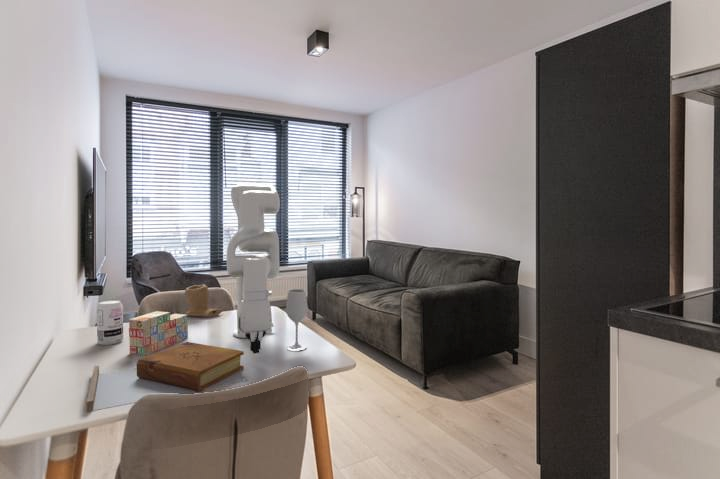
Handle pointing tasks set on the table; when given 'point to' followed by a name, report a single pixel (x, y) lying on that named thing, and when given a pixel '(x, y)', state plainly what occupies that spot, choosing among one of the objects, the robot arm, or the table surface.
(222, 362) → the diary
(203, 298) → the stone cup
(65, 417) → the table surface
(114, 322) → the supplement can
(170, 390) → the display board
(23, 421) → the table surface
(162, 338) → the stack of blocks
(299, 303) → the wineglass
